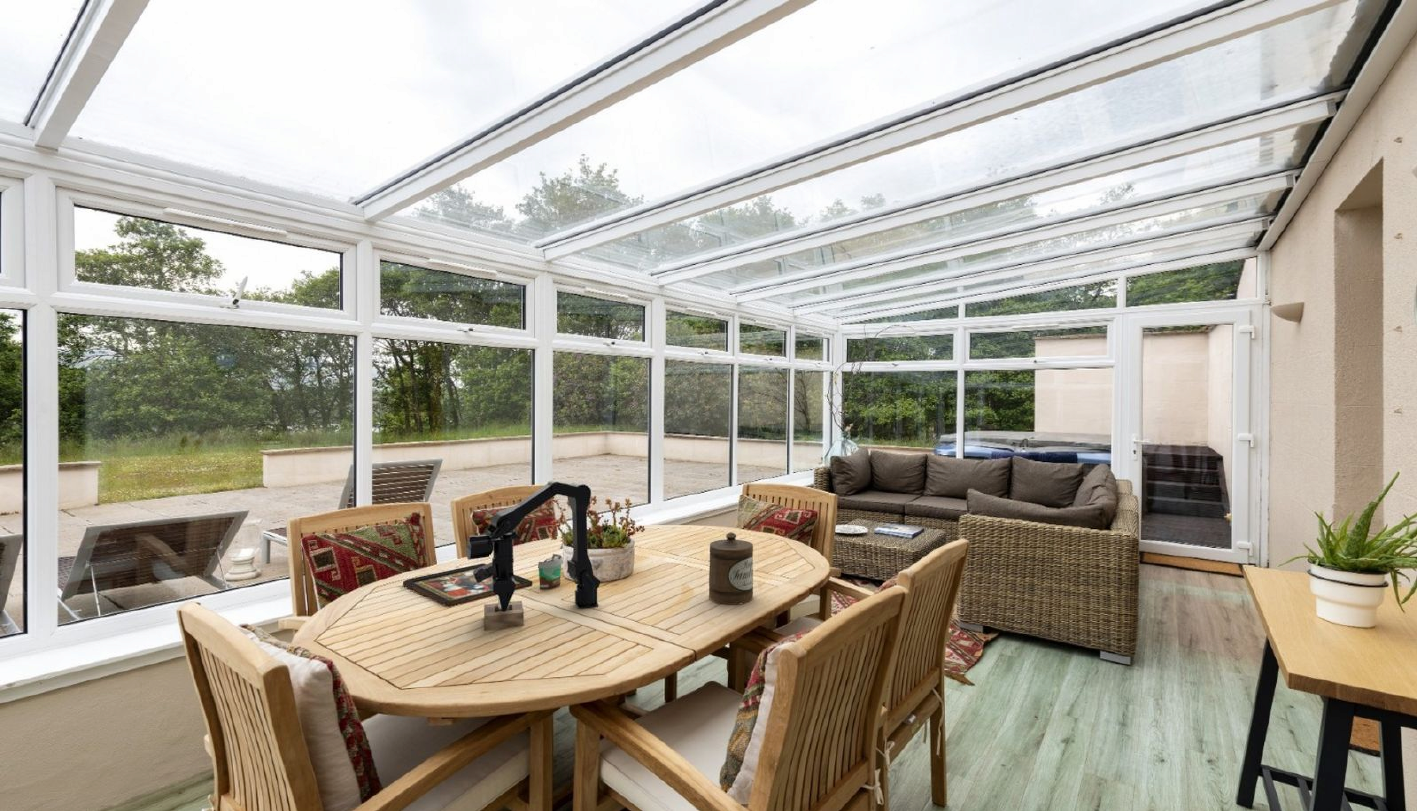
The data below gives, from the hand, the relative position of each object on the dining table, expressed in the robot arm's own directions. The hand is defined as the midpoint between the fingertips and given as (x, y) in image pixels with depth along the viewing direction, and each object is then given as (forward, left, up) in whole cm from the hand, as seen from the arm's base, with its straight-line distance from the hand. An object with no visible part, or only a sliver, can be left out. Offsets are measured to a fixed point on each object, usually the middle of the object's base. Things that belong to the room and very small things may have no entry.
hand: (503, 606), depth 188 cm
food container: (-18, -31, -5) cm, 36 cm away
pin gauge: (0, 0, -5) cm, 5 cm away
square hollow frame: (0, 0, -5) cm, 5 cm away
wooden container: (-73, +2, -5) cm, 73 cm away
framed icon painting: (+11, -42, -5) cm, 44 cm away
